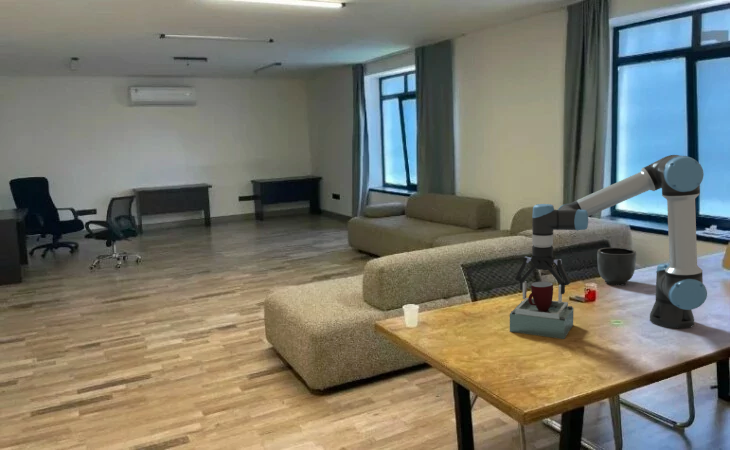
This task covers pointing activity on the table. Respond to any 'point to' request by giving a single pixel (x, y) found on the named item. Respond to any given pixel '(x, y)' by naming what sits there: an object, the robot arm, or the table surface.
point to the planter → (616, 265)
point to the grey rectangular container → (542, 319)
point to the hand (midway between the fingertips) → (542, 300)
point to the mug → (541, 295)
